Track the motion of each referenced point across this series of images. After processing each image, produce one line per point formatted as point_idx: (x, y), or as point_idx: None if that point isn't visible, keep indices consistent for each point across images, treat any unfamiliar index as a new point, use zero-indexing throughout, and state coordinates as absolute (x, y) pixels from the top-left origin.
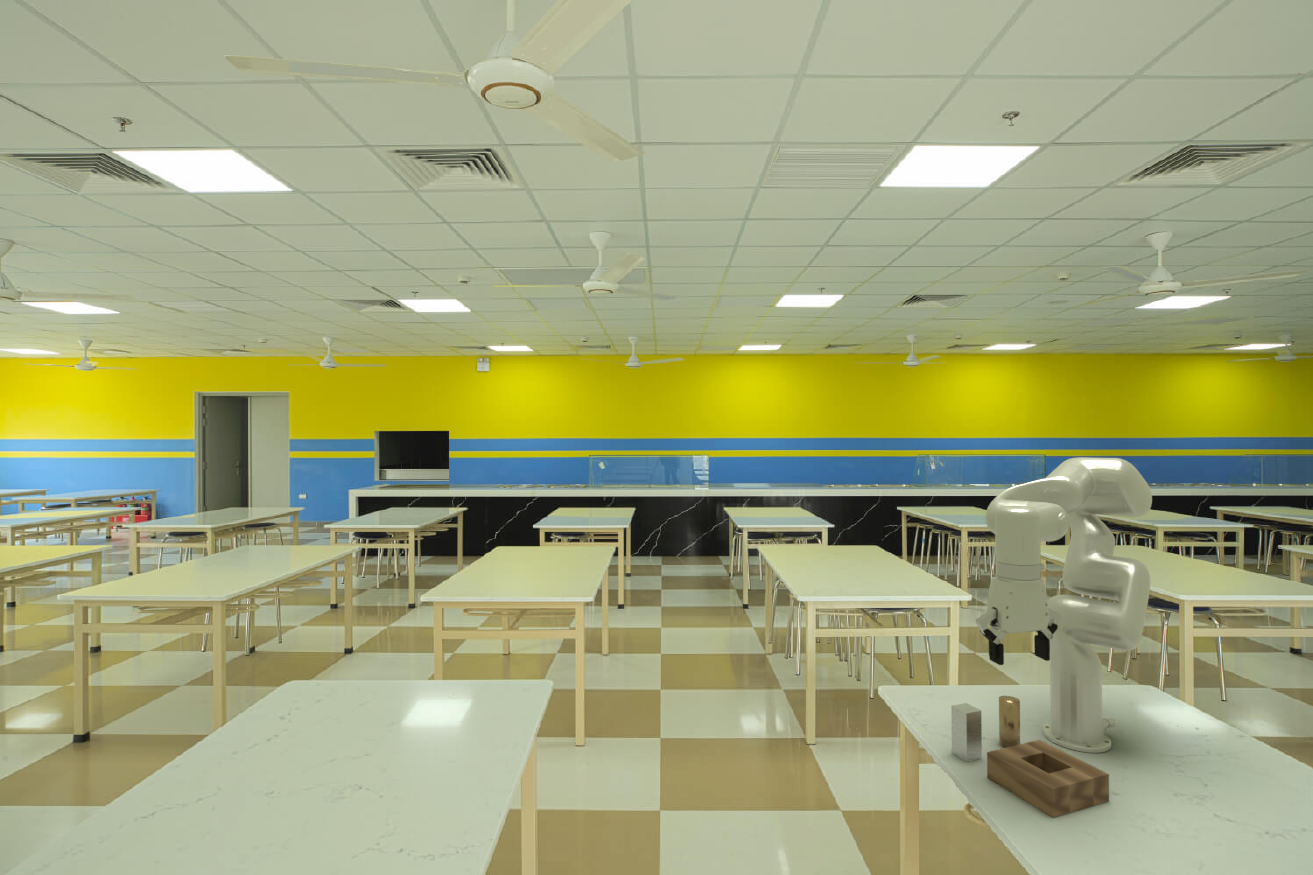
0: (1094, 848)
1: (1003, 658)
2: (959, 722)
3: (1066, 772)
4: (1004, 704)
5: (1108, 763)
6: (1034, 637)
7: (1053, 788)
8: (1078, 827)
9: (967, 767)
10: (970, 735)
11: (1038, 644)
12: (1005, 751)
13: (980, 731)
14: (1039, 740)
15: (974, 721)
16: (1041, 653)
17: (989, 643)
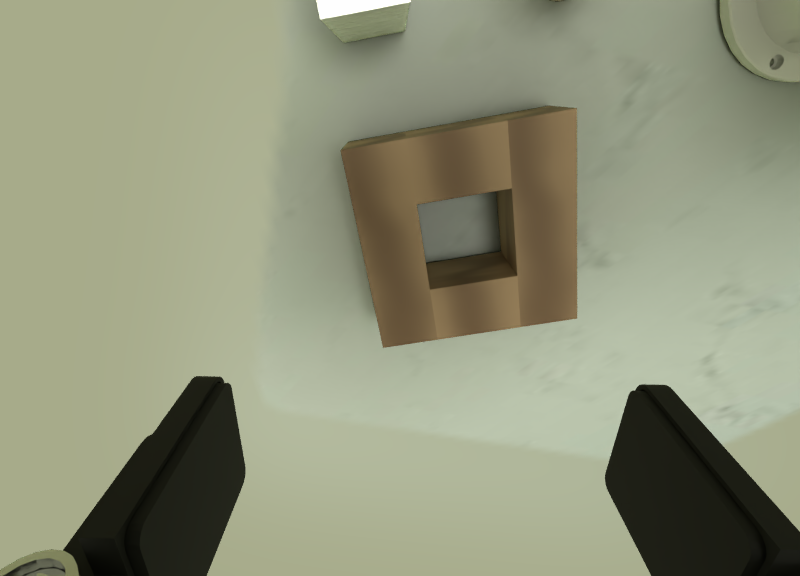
0: (388, 393)
1: (226, 516)
2: None
3: (480, 293)
4: None
5: (740, 138)
6: (738, 533)
7: (386, 345)
8: (411, 344)
9: (329, 70)
10: (352, 28)
11: (683, 514)
12: (402, 158)
13: (402, 18)
14: (571, 112)
15: (369, 17)
16: (633, 477)
17: (73, 551)
